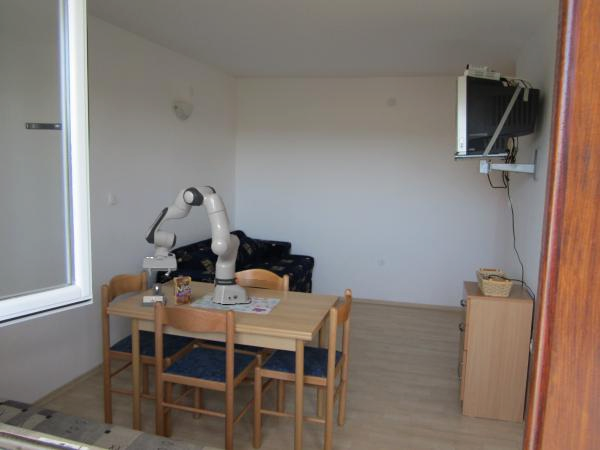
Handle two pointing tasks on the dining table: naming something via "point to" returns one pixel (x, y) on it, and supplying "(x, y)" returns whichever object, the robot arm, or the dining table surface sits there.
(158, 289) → the steel weight
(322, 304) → the dining table surface
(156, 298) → the scale
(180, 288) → the candy box
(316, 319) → the dining table surface
